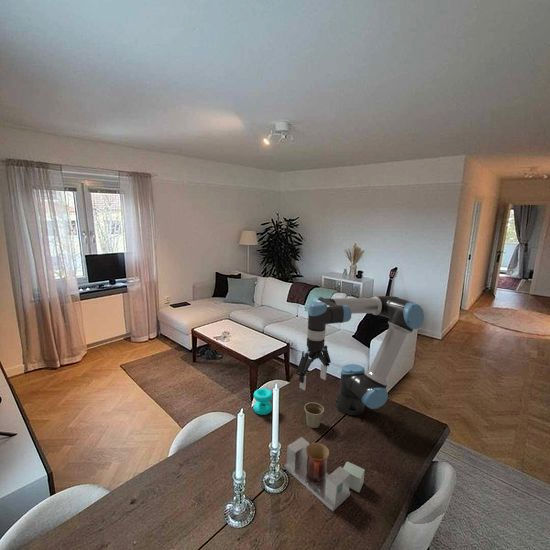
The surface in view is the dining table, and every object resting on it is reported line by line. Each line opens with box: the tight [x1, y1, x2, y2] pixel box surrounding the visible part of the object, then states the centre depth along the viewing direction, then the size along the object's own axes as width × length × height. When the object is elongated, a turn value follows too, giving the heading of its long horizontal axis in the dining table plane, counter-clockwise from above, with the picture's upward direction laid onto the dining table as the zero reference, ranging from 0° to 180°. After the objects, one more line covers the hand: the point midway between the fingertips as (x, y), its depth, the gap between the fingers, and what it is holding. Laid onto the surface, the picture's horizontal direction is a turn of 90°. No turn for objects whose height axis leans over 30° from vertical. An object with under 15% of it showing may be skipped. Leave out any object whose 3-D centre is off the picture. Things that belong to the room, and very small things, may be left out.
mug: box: [306, 442, 330, 481], centre depth 115 cm, size 12×9×10 cm
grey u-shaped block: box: [284, 436, 351, 512], centre depth 115 cm, size 10×25×10 cm, turn 41°
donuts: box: [252, 387, 273, 416], centre depth 157 cm, size 10×10×10 cm
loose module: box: [342, 461, 366, 493], centre depth 115 cm, size 5×7×6 cm
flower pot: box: [304, 402, 325, 429], centre depth 147 cm, size 9×9×9 cm
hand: (313, 383), depth 134 cm, fingers open, 13 cm apart
